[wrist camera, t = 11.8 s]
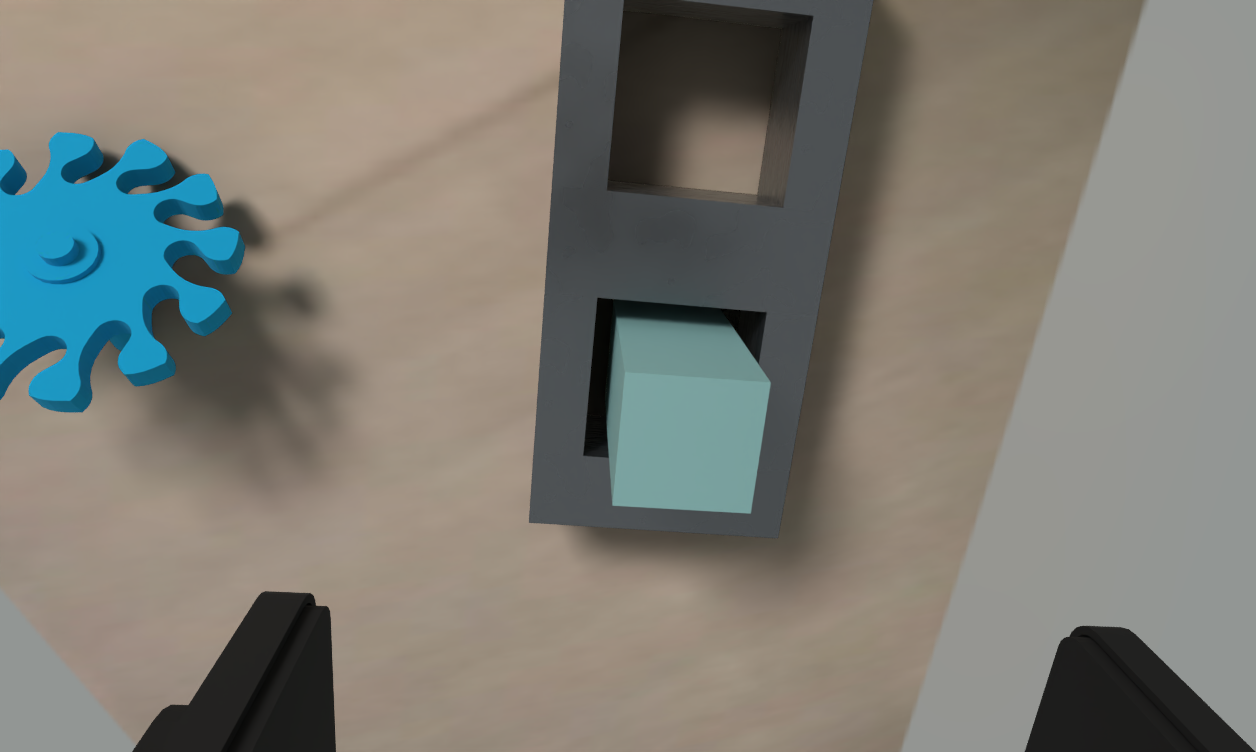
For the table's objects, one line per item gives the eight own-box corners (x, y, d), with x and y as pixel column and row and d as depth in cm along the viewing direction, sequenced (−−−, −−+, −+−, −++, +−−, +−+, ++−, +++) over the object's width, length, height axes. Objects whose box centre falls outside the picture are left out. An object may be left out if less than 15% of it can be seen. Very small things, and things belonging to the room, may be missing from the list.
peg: (613, 298, 30) (625, 372, 22) (718, 306, 30) (770, 382, 22) (604, 398, 31) (612, 505, 23) (705, 405, 32) (750, 513, 23)
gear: (293, 181, 27) (114, 444, 22) (321, 279, 32) (182, 509, 27) (-26, 67, 26) (-276, 308, 22) (55, 185, 32) (-132, 399, 27)
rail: (574, -87, 26) (573, -120, 22) (844, -54, 27) (887, -81, 23) (535, 473, 32) (529, 522, 28) (755, 488, 33) (778, 538, 29)
